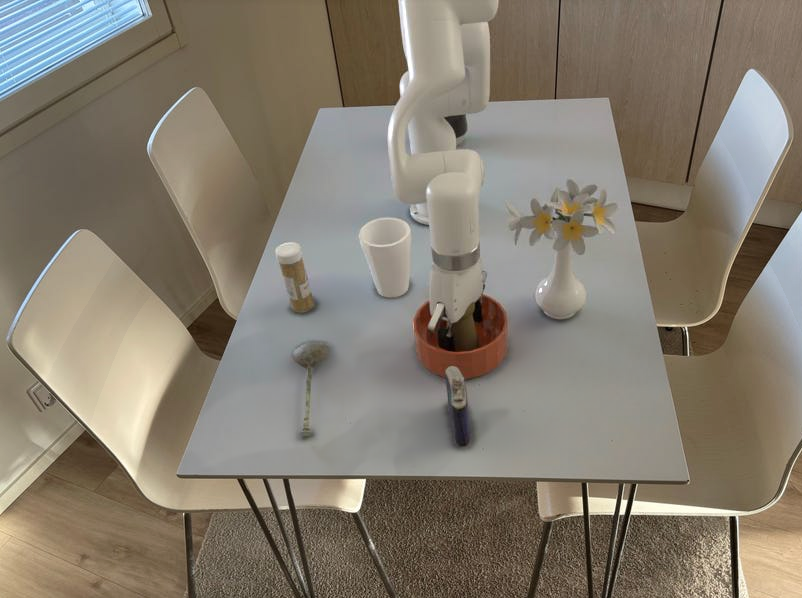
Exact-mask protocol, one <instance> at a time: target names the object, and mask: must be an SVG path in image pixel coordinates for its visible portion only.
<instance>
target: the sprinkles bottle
mask: <svg viewBox="0 0 802 598" xmlns="http://www.w3.org/2000/svg"><path fill="white" fill-rule="evenodd" d="M275 257H276V261H277V262H278V263H279V267H280V270H281V276H282V278H283V283H284V285H285V289H286V293H287V296H288V298H289V301H290V308H291V310H292V311H293V312H296V313H299V314H300V313H301V314H302V313H307V312H309V311H310V310H312V309H313V308H314V307H315V300H314V298H313V294H312V290H311V289H312V288H311V286H310V282H309V281H310V280H309V277H308V274H307V270H306V267H305V264H304V260H303V252H302V249H301V246H300V245H299V244H298V243H297V242H292V241H291V242H290V241H288V242H284V243H282V244H280V245H278V246H277V247H276V248H275Z"/></svg>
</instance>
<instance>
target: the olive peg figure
mask: <svg viewBox="0 0 802 598" xmlns="http://www.w3.org/2000/svg"><path fill="white" fill-rule="evenodd" d="M474 309H475V302H472V303H471V304H470V305H469V306H468V308H467V309H466V311H465V314H464V315H463V316H462V317H461V318H460V319H459V320H458V321H457V322H455V326H454V329H453V333H454V334H455V341H456V351H455V352H464V351H472V350H475V349H478V348H479V342H478V337H477V333H476V328H475V324H474V319H473V315H472V314H473V312H474ZM448 325H449V322H448V321H447V328H446V329H448ZM446 351H447V350H446Z"/></svg>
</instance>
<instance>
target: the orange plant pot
mask: <svg viewBox="0 0 802 598" xmlns="http://www.w3.org/2000/svg"><path fill="white" fill-rule="evenodd" d="M482 296H483V302H482V303H480V304H482V322H481V323H478V322H475V321H474V324H475V328H476V333H477V337H478V342H479V348H478V349H475V350H472V351H464V352H452V351H446V350H444V349H442V348H440V347H439V344H438V334H436V333H433V332H432V331H431V330H429V329H428V325H429V323H430V320H431V318H432V316H431V313H430V303H429V300H427V301H425V302H424V303H423V304H422V305H421V306H420V307H419V308H418V309H417V310H416V313H415V315H414V317H413V319H412V326H413V328H412V329H413V337H414V343H415V352H416V353H415V354H416V356H417V358H418V360H419V361H420V363H421V365H422V366H423V367H425V368H426V369H427V370H428V371H429V372H431V373H432V374H435V375H438V376H440V377H443V378H445V369H447V368H448V367H450V366H454V367H457V368H458V369H459V370H460V372H461V374H462V376H463V377H464V379H473V378H476V377H479V376H483V375H486V374H488V373H489V372H491V371H492V370H494V369H496V368H498V366H499V365H500V364H501V362H502V361H504V359H505V357H506V354H507V350H508V348H509V322H508V316H507V315H508V314H507V312H506V310H505V309H504V307H503V306H502V304H501V303H500V302H498V301H497V300H496V299H495V298H493V297H491V296H489V295H486V294H484V293H483V294H482ZM444 315H446V312H445V314H444ZM446 316H447V315H446ZM442 327H443V328H447V321H445V320H443V324H442Z"/></svg>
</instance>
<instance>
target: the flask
mask: <svg viewBox="0 0 802 598" xmlns="http://www.w3.org/2000/svg"><path fill="white" fill-rule="evenodd" d="M444 378H445V385H446V395H447V396H446V398H447V404H448V405H447V408H448V414H449V415H450V424H451V426H452V427H453V435H454V436H453V437H454V444H456V445H457V446H458V447H459V448H462V447H464V448H465V447H467V446H469V445H470V444H471V440H472V435H471V433H472V431H471V424H470V414H469V401H468V400H469V399H468V390H467V384H466V381H465V378H464V377H463V376H462V374H461V372H460V370H459V369H458V368H457V367H454V366H450V367H448V368H447V369H445V377H444Z"/></svg>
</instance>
